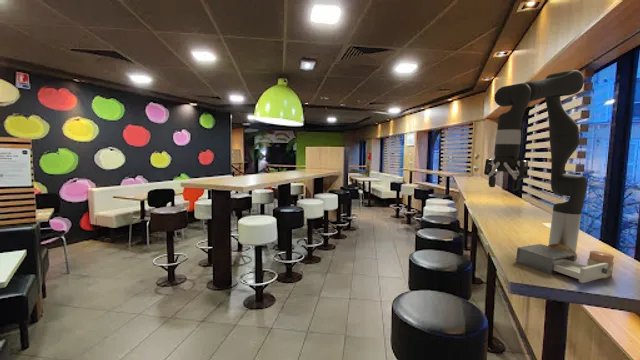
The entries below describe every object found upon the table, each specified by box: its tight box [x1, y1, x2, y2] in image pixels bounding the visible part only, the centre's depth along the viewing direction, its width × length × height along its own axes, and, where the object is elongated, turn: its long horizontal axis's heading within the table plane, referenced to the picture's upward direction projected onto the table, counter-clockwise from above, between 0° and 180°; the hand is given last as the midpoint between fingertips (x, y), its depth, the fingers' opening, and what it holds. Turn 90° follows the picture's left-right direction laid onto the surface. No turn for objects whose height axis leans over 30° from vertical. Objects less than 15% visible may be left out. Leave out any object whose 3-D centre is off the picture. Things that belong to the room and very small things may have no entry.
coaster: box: [588, 250, 615, 264], centre depth 101 cm, size 6×6×2 cm
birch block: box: [586, 258, 615, 279], centre depth 101 cm, size 5×5×5 cm
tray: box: [553, 258, 609, 284], centre depth 99 cm, size 14×13×5 cm
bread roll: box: [547, 244, 578, 260], centre depth 115 cm, size 10×10×8 cm
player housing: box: [515, 243, 577, 275], centre depth 108 cm, size 14×12×6 cm
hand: (503, 188), depth 104 cm, fingers open, 8 cm apart
